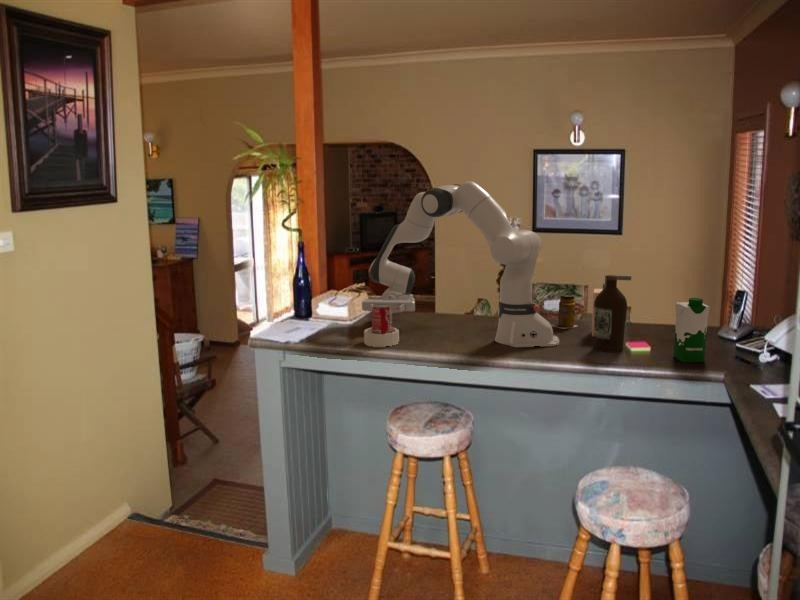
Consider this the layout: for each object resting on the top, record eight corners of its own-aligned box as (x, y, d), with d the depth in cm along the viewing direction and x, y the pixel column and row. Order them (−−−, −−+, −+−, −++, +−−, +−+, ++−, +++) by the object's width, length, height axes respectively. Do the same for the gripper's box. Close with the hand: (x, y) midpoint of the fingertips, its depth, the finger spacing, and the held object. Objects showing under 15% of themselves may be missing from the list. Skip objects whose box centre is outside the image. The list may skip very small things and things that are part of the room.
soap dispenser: (591, 336, 257) (594, 276, 253) (592, 331, 265) (594, 273, 261) (628, 338, 254) (631, 277, 250) (628, 333, 262) (631, 274, 258)
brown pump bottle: (605, 342, 248) (608, 272, 243) (631, 348, 240) (635, 275, 235) (585, 347, 242) (588, 275, 237) (611, 354, 233) (615, 279, 228)
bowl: (400, 339, 257) (400, 326, 256) (396, 347, 245) (396, 334, 244) (367, 338, 258) (367, 326, 257) (362, 346, 246) (361, 334, 245)
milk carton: (681, 363, 222) (685, 300, 218) (669, 355, 230) (673, 295, 227) (708, 362, 222) (713, 300, 218) (695, 355, 231) (700, 294, 227)
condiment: (579, 326, 274) (580, 295, 271) (564, 329, 269) (565, 298, 266) (564, 323, 279) (565, 293, 277) (549, 326, 274) (550, 295, 272)
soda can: (389, 344, 246) (388, 307, 243) (369, 343, 248) (368, 306, 245) (394, 339, 253) (394, 303, 250) (375, 338, 255) (375, 303, 252)
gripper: (364, 293, 276) (358, 300, 263) (416, 294, 274) (413, 301, 261) (364, 309, 278) (358, 317, 264) (416, 310, 275) (413, 317, 262)
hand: (386, 309), depth 262 cm, fingers open, 8 cm apart
